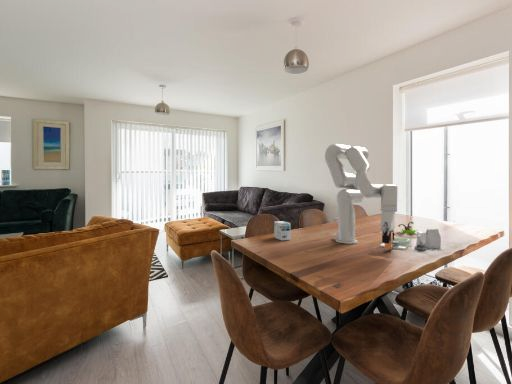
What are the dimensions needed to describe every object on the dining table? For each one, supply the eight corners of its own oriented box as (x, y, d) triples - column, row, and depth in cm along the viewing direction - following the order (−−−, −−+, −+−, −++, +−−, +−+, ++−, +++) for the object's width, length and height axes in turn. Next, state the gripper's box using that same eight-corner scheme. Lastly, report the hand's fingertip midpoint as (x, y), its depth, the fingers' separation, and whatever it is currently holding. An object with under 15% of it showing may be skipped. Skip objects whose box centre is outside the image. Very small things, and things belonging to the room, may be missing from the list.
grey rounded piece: (413, 249, 139) (414, 232, 139) (415, 247, 144) (416, 231, 143) (425, 251, 136) (426, 233, 136) (427, 249, 140) (428, 232, 140)
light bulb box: (290, 240, 164) (290, 222, 163) (281, 240, 161) (281, 223, 161) (282, 236, 174) (283, 220, 173) (273, 237, 171) (273, 221, 171)
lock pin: (384, 248, 136) (384, 231, 135) (391, 244, 146) (391, 228, 146) (390, 249, 134) (391, 232, 133) (397, 245, 144) (397, 228, 144)
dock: (380, 246, 145) (380, 240, 145) (387, 242, 157) (387, 236, 157) (404, 250, 138) (404, 243, 137) (410, 245, 149) (410, 239, 149)
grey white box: (440, 248, 143) (440, 229, 142) (429, 248, 141) (429, 230, 141) (434, 246, 146) (435, 228, 146) (424, 247, 145) (424, 228, 145)
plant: (433, 242, 160) (434, 223, 160) (400, 241, 161) (401, 223, 160) (415, 235, 180) (415, 219, 179) (386, 235, 181) (386, 219, 180)
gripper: (385, 207, 144) (384, 238, 145) (376, 209, 131) (375, 243, 132) (400, 207, 139) (400, 239, 140) (392, 210, 126) (391, 245, 127)
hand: (388, 241), depth 136 cm, fingers open, 9 cm apart
